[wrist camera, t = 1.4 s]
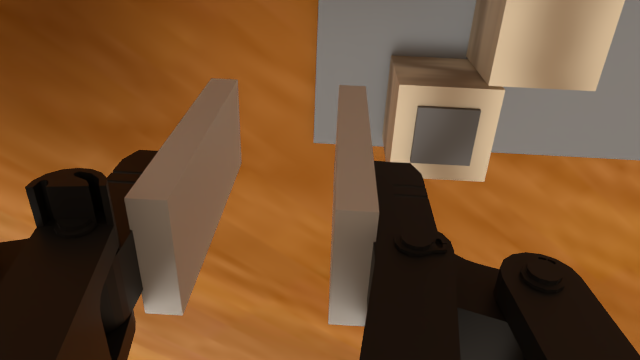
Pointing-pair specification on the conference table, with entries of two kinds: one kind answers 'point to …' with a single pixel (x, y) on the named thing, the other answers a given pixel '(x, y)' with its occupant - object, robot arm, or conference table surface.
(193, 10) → the conference table surface
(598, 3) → the plain block
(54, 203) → the robot arm
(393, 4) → the mat
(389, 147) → the marked block
